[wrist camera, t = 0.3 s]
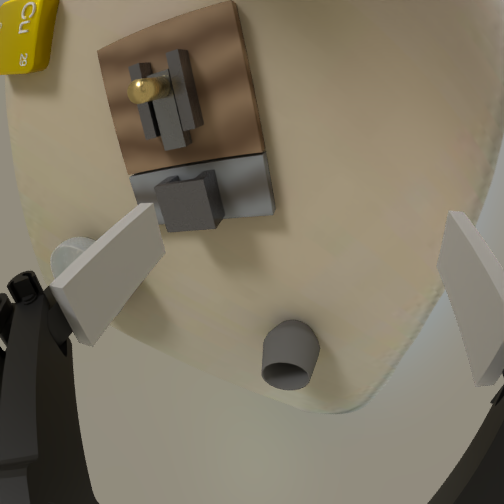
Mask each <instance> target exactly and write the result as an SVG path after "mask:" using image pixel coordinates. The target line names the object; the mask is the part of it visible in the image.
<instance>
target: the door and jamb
mask: <svg viewBox="0 0 504 504" xmlns="http://www.w3.org/2000/svg"><path fill="white" fill-rule="evenodd" d="M176 49H183V50H188V53H189V58H190V63H191V67H192V72H193V76H194V81H195V85H196V90H197V94H198V99H199V103H200V108H201V112H202V117H203V121H204V125H202V126H200V127H198V128H196V129H191V130H189V131H190V135H191V139H192V143H191V144H190V145H188V146H186V147H181V148H177V149H172V150H167V151H165V149H164V145H163V142H162V138H161V136H159V137H157V138H153V139H149V140H146V138H145V135H144V131H143V127H142V123H141V119H140V115H139V111H138V107H137V104H135V103H133V102H131V101H130V100H129V98H128V94H127V90H128V86H129V84H130V83H131V77H130V73H129V68H128V67H129V66H132V65H134V64H137V63H146V62H150V63H151V68H152V72H153V74H154V73H157V72H160V71H163V70H166V69H169V67H168V63H167V58H166V53H167V52H170V51H173V50H176ZM97 53H98V58H99V63H100V67H101V72H102V77H103V81H104V86H105V90H106V94H107V98H108V103H109V107H110V111H111V115H112V118H113V122H114V126H115V130H116V134H117V137H118V141H119V144H120V148H121V152H122V155H123V158H124V162H125V165H126V169H127V172H128V175H130V174H134V175H132V176H131V177H129V178H130V182H131V185H132V188H133V191H134V194H135V197H136V201H137V204H138V205H139V204H140V203H154V208H155V212H156V216H157V220H158V224H165V222H164V219H163V216H162V213H161V209H160V206H159V203H158V200H157V196H156V193H155V190H154V187H155V186H156V185H157V184H159V183H160V182H161V181H163V180H164V179H166V178H167V177H170V176H175V175H178V177H179V181H181V180H188V179H194V178H196V177H197V176H198V175H199V174H200V173H202V172H203V171H207V170H214V169H215V173H216V178H217V182H218V186H219V190H220V195H221V199H222V203H223V207H224V211H225V216H224V218H223V219H226V218H238V217H252V216H266V215H273V214H274V212H275V209H276V207H275V201H274V195H273V190H272V184H271V178H270V172H269V167H268V161H267V156H266V152H263V150H264V149H265V145H264V139H263V134H262V128H261V123H260V118H259V112H258V107H257V102H256V97H255V92H254V87H253V82H252V77H251V72H250V67H249V62H248V57H247V52H246V48H245V43H244V38H243V33H242V29H241V24H240V20H239V15H238V10H237V6H236V3H234V2H233V1H231V0H230V1H226V2H222V3H219V4H215V5H212V6H208V7H205V8H201V9H198V10H195V11H192V12H189V13H186V14H183V15H180V16H177V17H174V18H171V19H168V20H166V21H163V22H160V23H158V24H155V25H153V26H150V27H148V28H145V29H143V30H140V31H138V32H136V33H133V34H131V35H129V36H127V37H124V38H122V39H120V40H118V41H116V42H114V43H112V44H110V45H108V46H106V47H104V48H102V49H100V50H98V51H97Z"/></svg>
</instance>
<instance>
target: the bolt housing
mask: <svg viewBox="0 0 504 504" xmlns="http://www.w3.org/2000/svg"><path fill="white" fill-rule="evenodd" d="M166 58H167V63H168V67H169V72H170V76H171V81H172V85H173V89H174V94H175V98H176V103H177V107H178V111H179V115H180V120H181V124H182V128H183V131H187V130H191V129H196V128H198V127H200V126H202V125H204V121H203V117H202V112H201V108H200V103H199V99H198V94H197V90H196V85H195V81H194V76H193V72H192V67H191V63H190V58H189V53H188V50H183V49H176V50H173V51H170V52H167V53H166ZM128 68H129V73H130V77H131V82H132V81H134V80H136V79H144V78H147V76H149V75H152V74H153V72H152V68H151V63H150V62H146V63H137V64H134V65H132V66H129V67H128ZM137 107H138V111H139V115H140V119H141V123H142V127H143V131H144V135H145V138H146V140H149V139H153V138H157V137H159V136H161V134H160V130H159V126H158V122H157V118H156V114H155V110H154V105H153V101H149V102H145V103H141V104H137ZM154 190H155V193H156V196H157V200H158V203H159V206H160V209H161V213H162V216H163V219H164V222H165V225H166V228H167V231H168V232H179V231H192V230H206V229H216V228H217V226H218V225H219V223H220V222H221V221H222V219H223V218H224V216H225V211H224V207H223V203H222V199H221V195H220V190H219V186H218V182H217V178H216V173H215V169H214V170H207V171H203V172H202V173H200V174H199V175H198V176H197V177H196V178H194V179H188V180H181V181H179V177H178V175H175V176H170V177H167V178H166V179H164V180H163V181H161V182H160V183H159V184H157V185H156V186H155V187H154Z"/></svg>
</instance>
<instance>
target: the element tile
mask: <svg viewBox="0 0 504 504" xmlns="http://www.w3.org/2000/svg"><path fill="white" fill-rule="evenodd" d="M58 4H59V0H10V1H7V2H5V3H4V4H3V5H2V6H1V7H0V75H8V74H27V73H32V72H37V71H42V70H44V69H45V68H46V67H47V66H48V63H49V60H50V52H51V44H52V38H53V31H54V25H55V20H56V14H57V9H58Z"/></svg>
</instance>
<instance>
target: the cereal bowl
mask: <svg viewBox="0 0 504 504" xmlns="http://www.w3.org/2000/svg"><path fill="white" fill-rule="evenodd" d="M95 241H96V240H93V239H90V238H87V237H73V238H70V239H68V240H66V241H64V242H63V243H61V244H60V245H58V247H56V248H55V249H54V251H53V252H52V255H51V269H52V273H53V276H54V278H55V279H56V278H57V277H58V276H59V275H60V274H61V273H62V272H63V271H64V270H65V269H66V268H67V267H68V266H69V265H70V264H71V263H73V262H74V261H75V260H76V259H77V258H78V257H79V256H80V255H81V254H82V253H83V252H84V251H85V250H87V249H88V248H89V247H90V246H91V245H92V244H93V243H94V242H95ZM123 307H124V306H123ZM123 307H122V308H123ZM122 308H121V310H122ZM121 310H120V311H121ZM120 311H119V312H118V314H119V313H120ZM118 314H117V315H118ZM117 315H116V316H117ZM116 316H115V317H116Z"/></svg>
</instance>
